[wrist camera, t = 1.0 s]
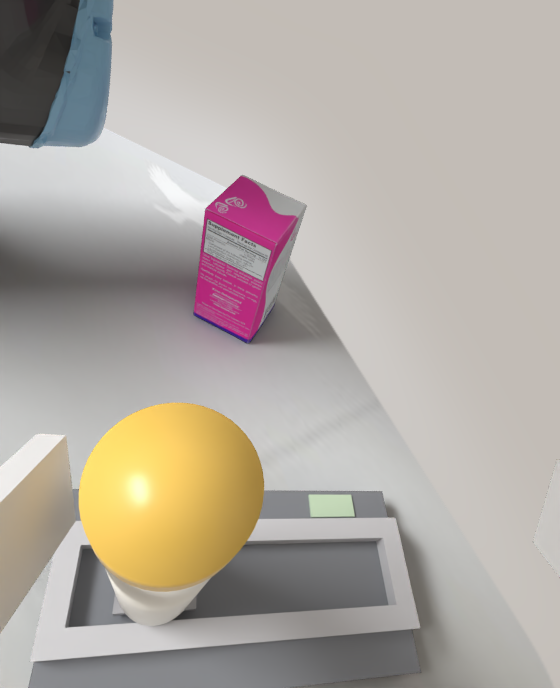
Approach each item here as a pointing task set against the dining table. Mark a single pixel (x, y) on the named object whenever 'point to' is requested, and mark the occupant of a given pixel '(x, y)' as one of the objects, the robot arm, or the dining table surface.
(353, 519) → the switch panel
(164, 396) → the dining table surface
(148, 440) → the switch handle
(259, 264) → the supplement box
